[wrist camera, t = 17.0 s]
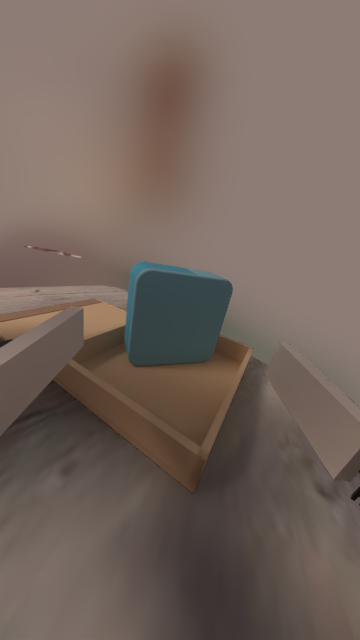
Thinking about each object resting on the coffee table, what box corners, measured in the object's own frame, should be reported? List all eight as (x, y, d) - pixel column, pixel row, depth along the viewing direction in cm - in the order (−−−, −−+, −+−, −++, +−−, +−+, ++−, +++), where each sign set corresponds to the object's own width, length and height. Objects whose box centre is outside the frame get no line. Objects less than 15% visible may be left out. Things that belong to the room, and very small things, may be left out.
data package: (198, 345, 31) (217, 273, 26) (211, 362, 27) (236, 280, 23) (123, 347, 26) (131, 259, 22) (126, 367, 23) (136, 266, 18)
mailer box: (-20, 321, 27) (-25, 297, 25) (96, 300, 43) (97, 285, 41) (193, 493, 13) (205, 461, 12) (246, 367, 29) (254, 348, 28)
